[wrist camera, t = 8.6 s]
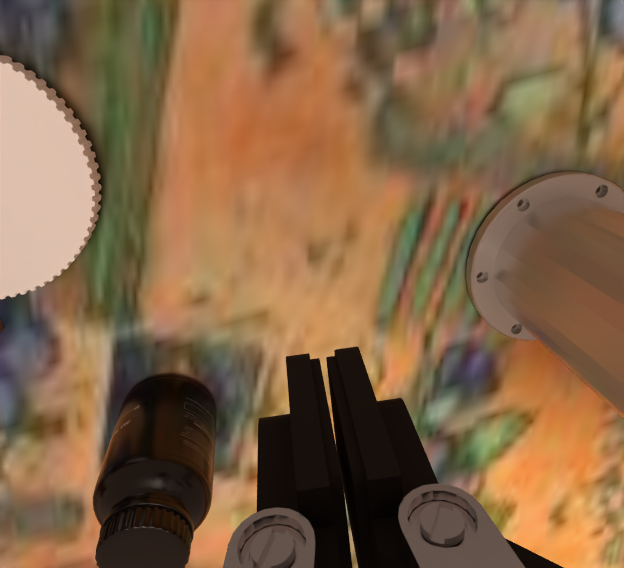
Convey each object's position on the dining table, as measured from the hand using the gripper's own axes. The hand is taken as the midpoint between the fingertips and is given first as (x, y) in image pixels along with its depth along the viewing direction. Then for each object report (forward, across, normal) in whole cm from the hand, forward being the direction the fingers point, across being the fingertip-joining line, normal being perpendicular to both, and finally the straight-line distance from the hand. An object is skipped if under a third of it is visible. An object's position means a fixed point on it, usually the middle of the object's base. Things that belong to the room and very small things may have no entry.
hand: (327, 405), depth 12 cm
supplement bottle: (+22, +11, +15) cm, 29 cm away
